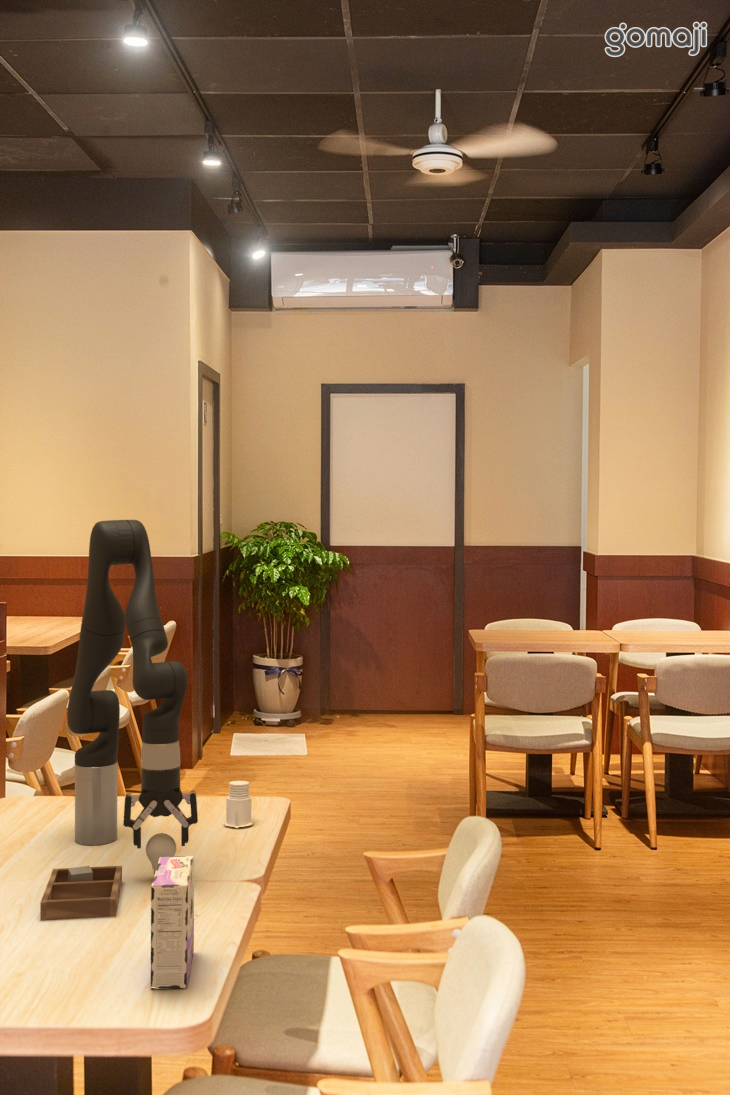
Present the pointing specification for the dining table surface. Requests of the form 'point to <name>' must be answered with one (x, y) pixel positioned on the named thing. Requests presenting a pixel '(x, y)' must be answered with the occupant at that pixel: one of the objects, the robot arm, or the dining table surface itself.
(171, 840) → the light bulb
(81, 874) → the grey cube
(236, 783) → the downlight
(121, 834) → the dining table surface
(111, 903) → the box
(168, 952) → the candy box
